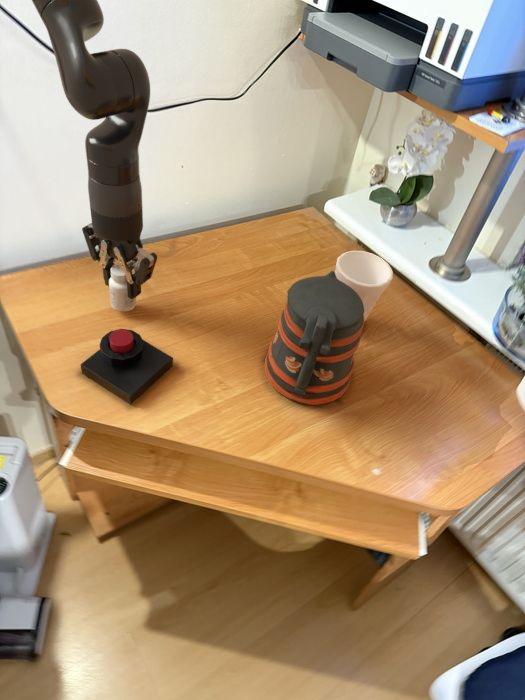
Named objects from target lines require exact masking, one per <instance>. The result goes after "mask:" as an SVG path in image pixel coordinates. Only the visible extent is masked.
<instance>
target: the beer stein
mask: <svg viewBox="0 0 525 700" xmlns="http://www.w3.org/2000/svg"><path fill="white" fill-rule="evenodd" d="M286 298H287V300H286V301H285V305H284V308H283V310H282V312H281V313H280V317H279V319H278V328H277V330H276V333H275V335H274V336H273V337H272V339H271V341H270V343H269V346H268V350H267V354H266V356H265V358H264V371H265V372H264V373H265V375H266V378H267V380H268V382H269V383H270V385H271V386H272V388H274V389H275V391H276V392H277V393H278V394H280V395H281V396H283V397H284V398H286V399H288V400H291V401H293V402H296V403H298V404H305V405H311V406H319V405H323V404H328V403H332V402H334V401H336V400H337V399H340V398H341V397H342V396H343V395H344V394H345V393H346V391H348V388H349V386H350V383H351V379H352V374H353V371H354V368H355V353H356V352H357V350H358V348H359V346H360V343H361V340H362V334H363V330H364V326H365V322H366V320H364V305H363V302H362V300H361V298H360V296H359V295H358V294H357V293H356V291H354V290H353V289H352V288H351V287H349V286H348V285H346V284H345V283H343V282H341V281H340V280H338V279H337V277H336V275H335V270H331V271H330V272H328V273H327V274H326V275H315V276H309V277H305V278H302V279H298V280H297V281H295V282H294V283H293V284H291V286H290V287H289V288H288V290H287V295H286ZM364 321H365V322H364Z"/></svg>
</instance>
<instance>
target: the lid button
mask: <svg viewBox="0 0 525 700" xmlns="http://www.w3.org/2000/svg"><path fill="white" fill-rule="evenodd" d="M120 329H121V330H118V329H115V330H116V331H114V330H113V331H114V332H112V333H111V335H110V337H109V341H110V348H111V349H112V351H114V352H116V353H121V354H123V353H127V352H129V351H131V350H132V348H133V346H134V341H133V335H132V333H131V332H130V331H127V330H128V329H127V330H123V329H124V328H120Z"/></svg>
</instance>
